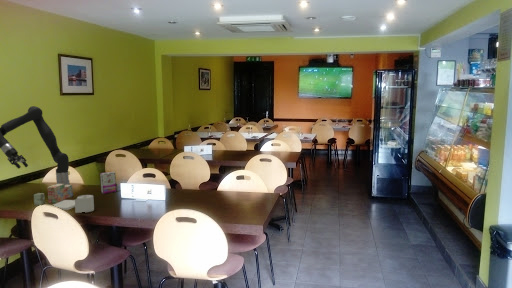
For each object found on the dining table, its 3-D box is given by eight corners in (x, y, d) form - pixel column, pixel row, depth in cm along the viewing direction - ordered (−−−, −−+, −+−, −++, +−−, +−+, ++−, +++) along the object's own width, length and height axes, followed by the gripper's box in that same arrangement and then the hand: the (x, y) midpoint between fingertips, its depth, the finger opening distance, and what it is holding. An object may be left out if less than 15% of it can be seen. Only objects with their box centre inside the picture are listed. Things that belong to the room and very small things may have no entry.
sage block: (39, 203, 315) (38, 193, 314) (45, 203, 314) (44, 193, 313) (34, 205, 310) (33, 194, 309) (40, 205, 309) (39, 194, 308)
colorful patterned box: (66, 195, 337) (65, 180, 336) (73, 196, 336) (72, 181, 335) (48, 202, 317) (47, 186, 315) (55, 203, 315) (54, 187, 314)
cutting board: (65, 201, 319) (65, 199, 319) (84, 202, 316) (84, 200, 316) (47, 209, 299) (47, 206, 299) (67, 210, 296) (67, 207, 296)
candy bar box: (114, 190, 353) (113, 171, 351) (116, 191, 349) (115, 172, 347) (101, 192, 346) (99, 173, 344) (103, 193, 342) (102, 174, 340)
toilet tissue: (96, 208, 300) (95, 194, 298) (90, 213, 288) (89, 199, 287) (81, 208, 299) (80, 194, 298) (74, 213, 287) (73, 199, 286)
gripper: (6, 148, 304) (20, 165, 304) (19, 146, 318) (32, 162, 318) (-1, 154, 305) (13, 171, 305) (12, 153, 319) (26, 169, 319)
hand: (23, 167), depth 312 cm, fingers open, 8 cm apart
